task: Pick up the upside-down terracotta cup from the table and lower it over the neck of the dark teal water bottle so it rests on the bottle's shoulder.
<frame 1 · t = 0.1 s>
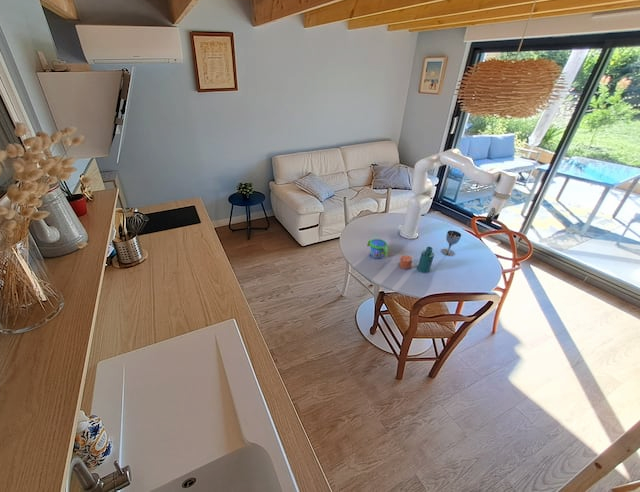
hand: (490, 221, 166), 31 cm above the table, tool pointing down, fingers open, 9 cm apart
snack cup: (376, 255, 191), on the table
cup: (404, 265, 181), on the table
wine glass: (447, 252, 193), on the table
bottle: (423, 269, 178), on the table
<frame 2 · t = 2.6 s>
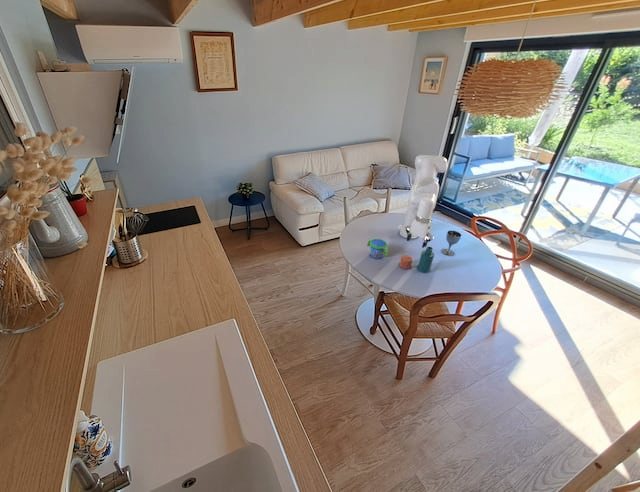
hand: (416, 243, 172), 17 cm above the table, tool pointing down, fingers open, 9 cm apart
nothing on the table moved.
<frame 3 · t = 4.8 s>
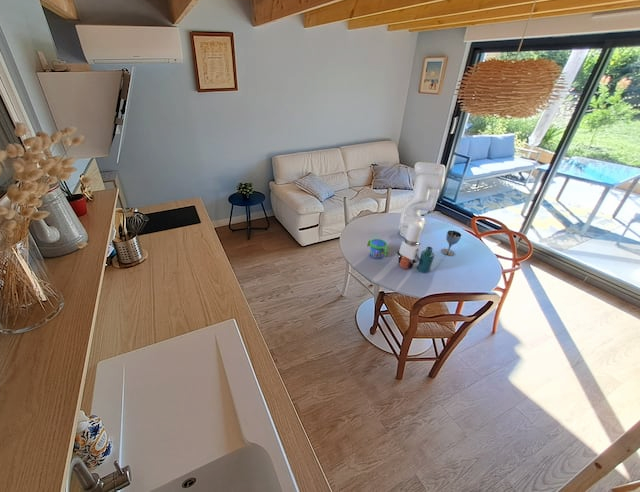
hand: (405, 264, 180), 1 cm above the table, tool pointing down, fingers closed on cup, 6 cm apart
cup: (404, 265, 181), on the table, touching gripper
everything else where it was.
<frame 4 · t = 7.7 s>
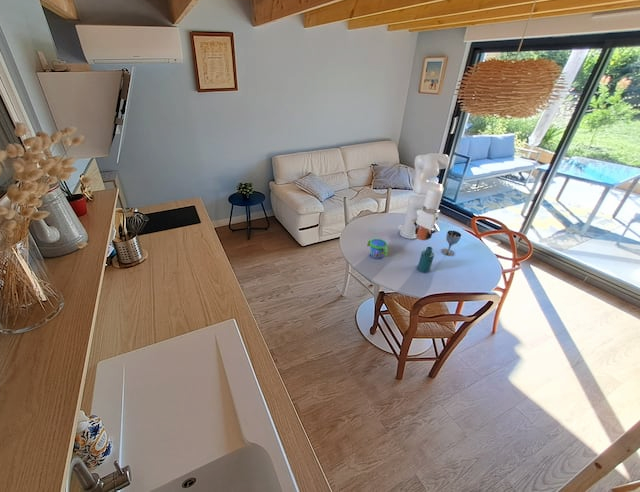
hand: (422, 235, 168), 24 cm above the table, tool pointing down, fingers closed on cup, 6 cm apart
cup: (422, 237, 168), point 22 cm above the table, touching gripper
everything else where it was.
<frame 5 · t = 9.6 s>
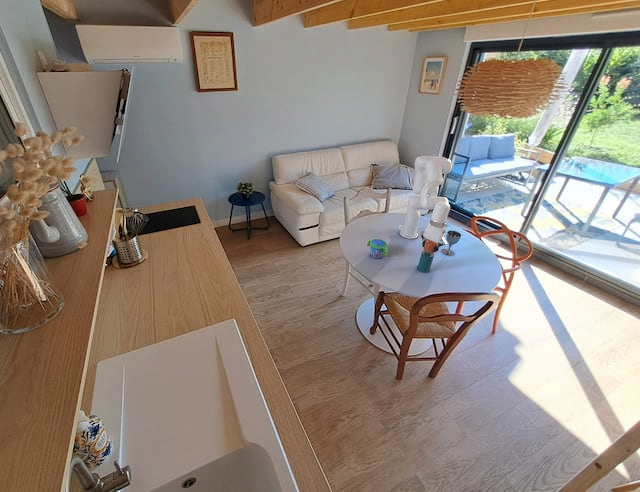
hand: (429, 248, 170), 16 cm above the table, tool pointing down, fingers closed on cup, 6 cm apart
cup: (429, 250, 170), point 15 cm above the table, touching gripper
everything else where it was.
when the fingers open (13 cm above the table, at t = 10.9 s): cup stays where it is, resting on bottle.
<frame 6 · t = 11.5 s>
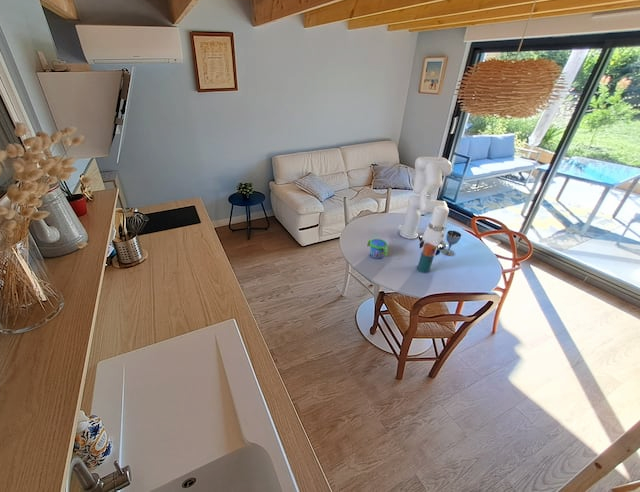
hand: (428, 250, 171), 14 cm above the table, tool pointing down, fingers open, 9 cm apart
cup: (428, 253, 172), point 12 cm above the table, touching bottle
everything else where it was.
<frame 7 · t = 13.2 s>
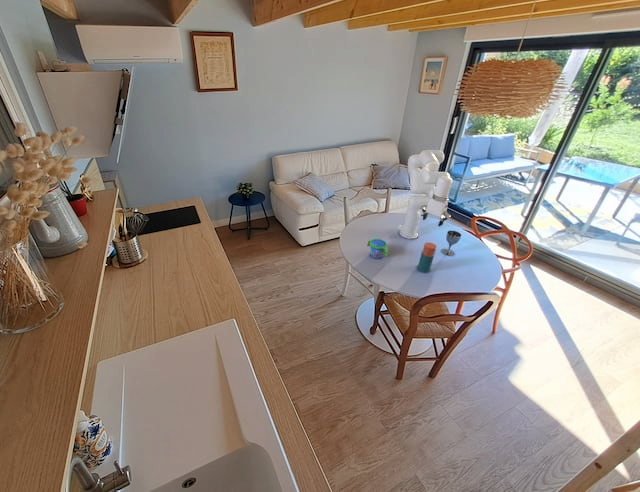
hand: (432, 222, 174), 27 cm above the table, tool pointing down, fingers open, 9 cm apart
nothing on the table moved.
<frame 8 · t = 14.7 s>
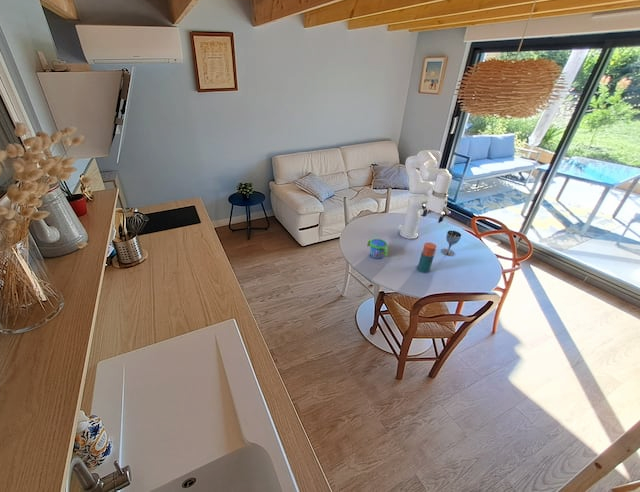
hand: (432, 219, 175), 28 cm above the table, tool pointing down, fingers open, 9 cm apart
nothing on the table moved.
at the end: cup 0.1 cm off-centre in the bottle, point 12.0 cm above the bottle's base; cup tilted 0°; the gripper is holding nothing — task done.
